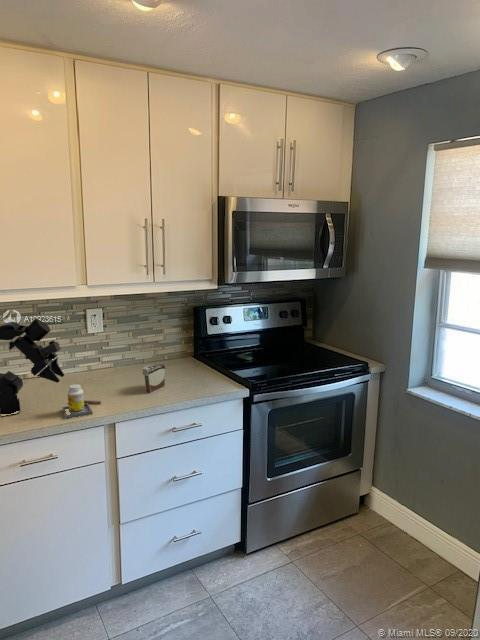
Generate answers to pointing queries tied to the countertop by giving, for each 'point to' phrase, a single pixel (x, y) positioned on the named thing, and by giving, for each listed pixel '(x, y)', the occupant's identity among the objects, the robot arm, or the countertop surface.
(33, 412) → the countertop surface
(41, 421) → the countertop surface
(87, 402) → the strip
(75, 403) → the supplement bottle
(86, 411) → the square tray
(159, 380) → the food container
